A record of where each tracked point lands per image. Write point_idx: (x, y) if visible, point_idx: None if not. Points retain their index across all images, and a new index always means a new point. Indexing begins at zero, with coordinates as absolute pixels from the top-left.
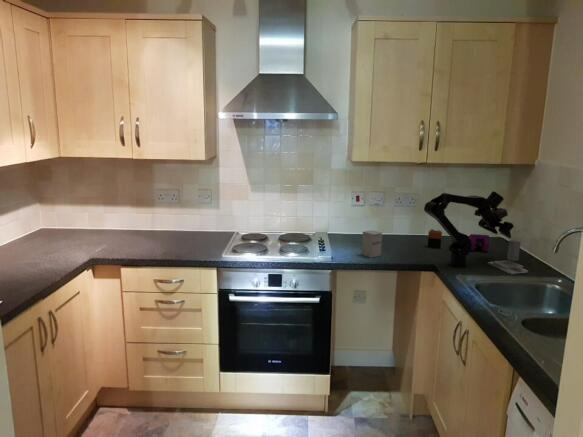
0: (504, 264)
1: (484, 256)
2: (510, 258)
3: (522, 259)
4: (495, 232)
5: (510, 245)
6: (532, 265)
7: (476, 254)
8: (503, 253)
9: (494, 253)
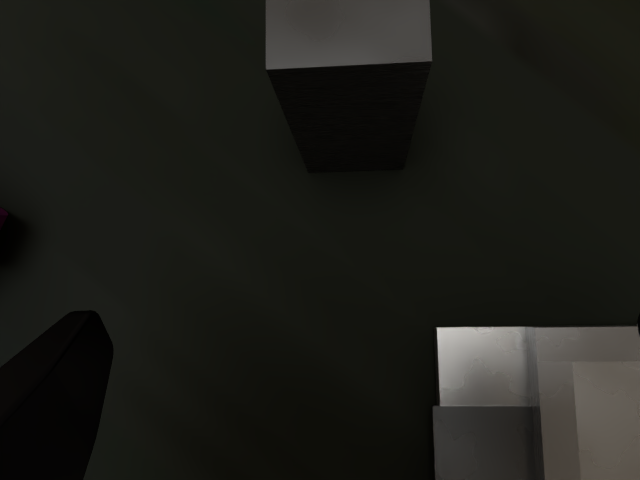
0: (590, 442)
1: (149, 377)
2: (363, 165)
3: None
4: (86, 401)
5: (326, 105)
6: (602, 59)
7: None
8: (108, 58)
9: (78, 163)
